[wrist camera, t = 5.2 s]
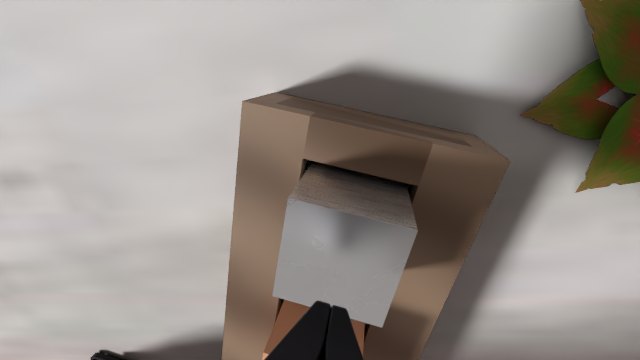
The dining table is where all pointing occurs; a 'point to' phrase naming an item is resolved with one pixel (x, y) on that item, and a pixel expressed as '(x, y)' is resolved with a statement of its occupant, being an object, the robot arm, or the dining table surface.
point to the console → (367, 157)
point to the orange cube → (291, 316)
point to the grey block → (345, 241)
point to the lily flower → (592, 82)
